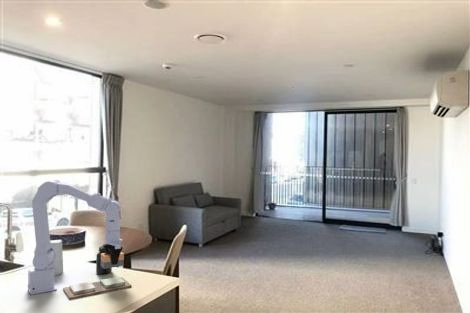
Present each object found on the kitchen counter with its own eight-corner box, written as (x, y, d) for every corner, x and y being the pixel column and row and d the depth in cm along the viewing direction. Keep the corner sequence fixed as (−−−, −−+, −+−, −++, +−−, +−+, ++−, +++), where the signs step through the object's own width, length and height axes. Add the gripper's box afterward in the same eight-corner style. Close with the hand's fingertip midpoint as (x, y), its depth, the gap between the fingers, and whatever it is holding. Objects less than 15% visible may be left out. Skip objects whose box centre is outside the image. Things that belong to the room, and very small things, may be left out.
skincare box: (63, 271, 177) (63, 239, 177) (60, 275, 171) (60, 242, 171) (43, 272, 175) (43, 240, 175) (40, 276, 169) (40, 243, 169)
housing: (123, 265, 158) (123, 252, 158) (104, 268, 154) (104, 255, 154) (119, 262, 162) (119, 250, 162) (100, 265, 158) (100, 252, 158)
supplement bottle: (102, 276, 170) (103, 249, 170) (92, 273, 174) (93, 247, 174) (115, 272, 176) (115, 246, 176) (105, 269, 180) (105, 244, 179)
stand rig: (69, 299, 143) (69, 294, 143) (63, 290, 153) (63, 285, 153) (131, 287, 157) (131, 282, 157) (121, 279, 166) (122, 274, 166)
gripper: (128, 232, 154) (127, 265, 154) (116, 226, 166) (116, 257, 166) (110, 234, 150) (110, 268, 150) (100, 227, 162) (100, 259, 162)
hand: (112, 262), depth 158 cm, fingers closed on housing, 5 cm apart
